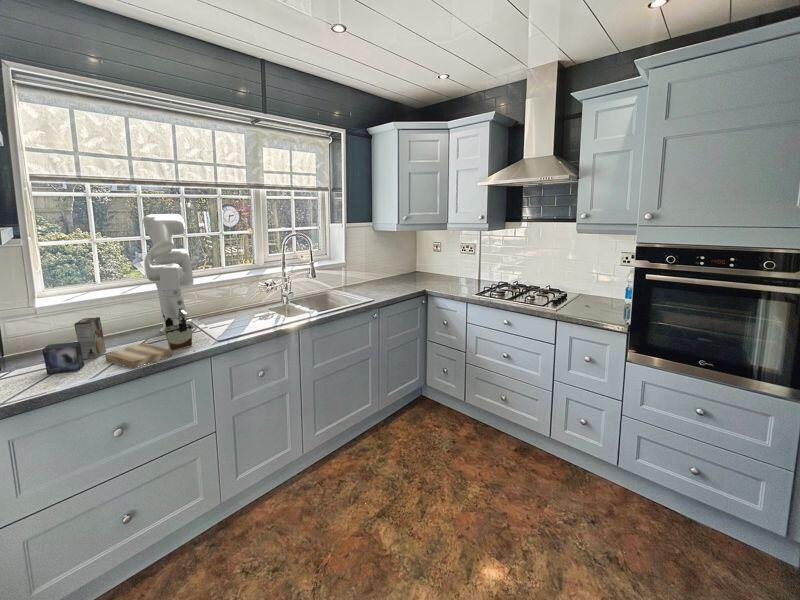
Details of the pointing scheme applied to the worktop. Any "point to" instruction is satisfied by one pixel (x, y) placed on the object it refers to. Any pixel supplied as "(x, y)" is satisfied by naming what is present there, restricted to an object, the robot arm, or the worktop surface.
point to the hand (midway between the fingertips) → (176, 330)
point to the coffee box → (90, 337)
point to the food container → (178, 337)
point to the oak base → (138, 355)
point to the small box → (63, 357)
